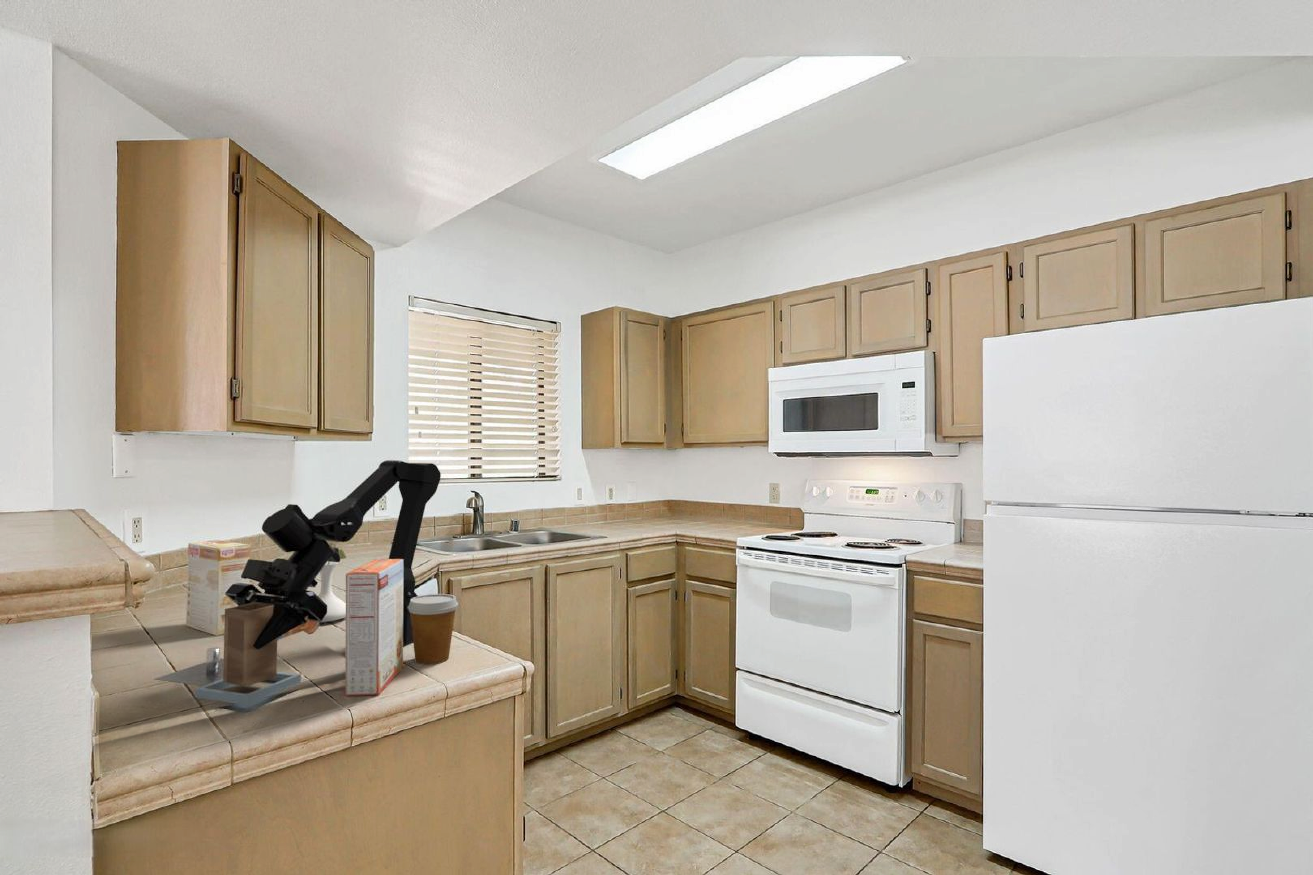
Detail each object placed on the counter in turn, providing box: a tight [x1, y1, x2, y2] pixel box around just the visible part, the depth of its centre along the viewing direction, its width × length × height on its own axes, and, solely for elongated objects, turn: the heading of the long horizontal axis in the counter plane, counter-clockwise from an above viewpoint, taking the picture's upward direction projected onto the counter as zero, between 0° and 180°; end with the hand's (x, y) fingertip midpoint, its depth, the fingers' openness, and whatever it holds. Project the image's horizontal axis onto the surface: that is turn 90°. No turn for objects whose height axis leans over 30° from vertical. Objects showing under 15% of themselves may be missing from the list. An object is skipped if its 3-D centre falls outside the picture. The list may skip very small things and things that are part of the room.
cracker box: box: [344, 558, 404, 697], centre depth 116 cm, size 14×6×21 cm, turn 5°
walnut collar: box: [223, 602, 278, 688], centre depth 109 cm, size 5×5×12 cm
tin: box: [277, 616, 322, 642], centre depth 143 cm, size 15×3×8 cm, turn 168°
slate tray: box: [194, 671, 302, 713], centre depth 108 cm, size 11×11×2 cm
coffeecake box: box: [185, 539, 251, 637], centre depth 150 cm, size 15×7×20 cm, turn 58°
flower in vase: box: [317, 541, 347, 623], centre depth 158 cm, size 13×11×25 cm
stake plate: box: [154, 646, 224, 687], centre depth 117 cm, size 12×12×5 cm
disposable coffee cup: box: [408, 593, 459, 665], centre depth 129 cm, size 10×10×12 cm
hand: (243, 645), depth 107 cm, fingers closed on walnut collar, 5 cm apart
